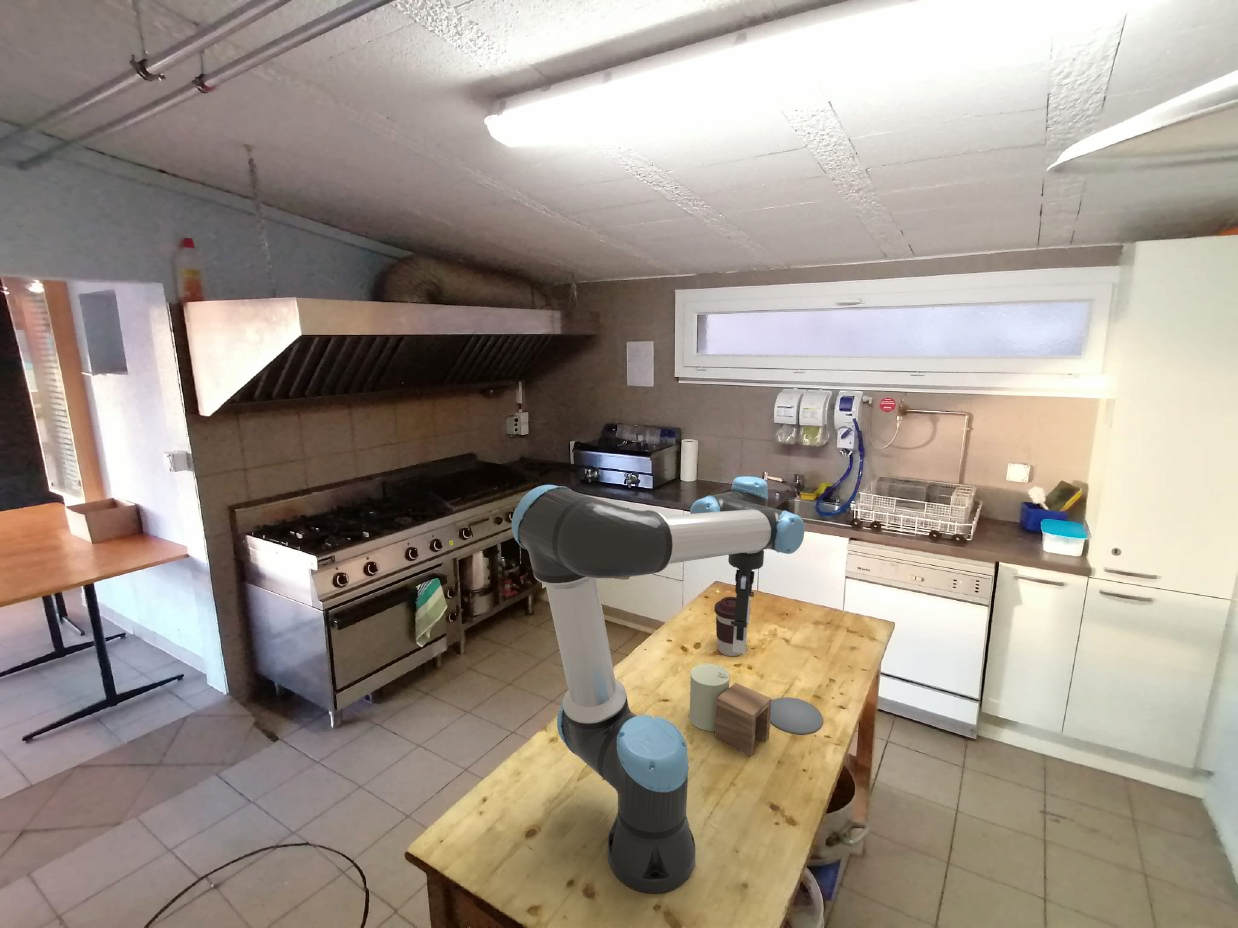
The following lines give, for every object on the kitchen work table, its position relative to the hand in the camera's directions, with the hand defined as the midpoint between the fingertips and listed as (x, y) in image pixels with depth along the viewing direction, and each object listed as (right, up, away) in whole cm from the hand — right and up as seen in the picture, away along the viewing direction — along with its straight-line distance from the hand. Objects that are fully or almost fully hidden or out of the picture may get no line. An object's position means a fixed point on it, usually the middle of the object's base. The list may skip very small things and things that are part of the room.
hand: (741, 637), depth 133 cm
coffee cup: (+4, -14, +35) cm, 39 cm away
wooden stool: (0, -22, -1) cm, 22 cm away
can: (-7, -21, +6) cm, 23 cm away
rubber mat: (+14, -20, +6) cm, 25 cm away
